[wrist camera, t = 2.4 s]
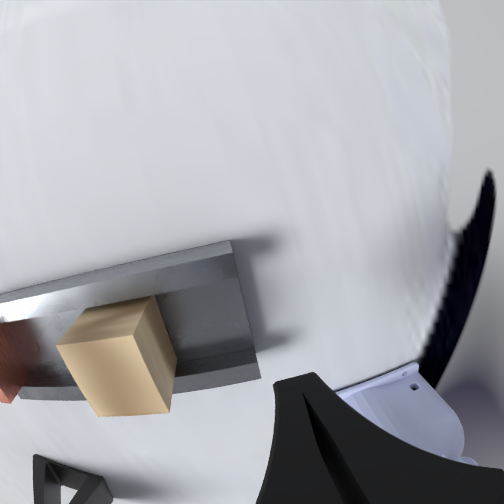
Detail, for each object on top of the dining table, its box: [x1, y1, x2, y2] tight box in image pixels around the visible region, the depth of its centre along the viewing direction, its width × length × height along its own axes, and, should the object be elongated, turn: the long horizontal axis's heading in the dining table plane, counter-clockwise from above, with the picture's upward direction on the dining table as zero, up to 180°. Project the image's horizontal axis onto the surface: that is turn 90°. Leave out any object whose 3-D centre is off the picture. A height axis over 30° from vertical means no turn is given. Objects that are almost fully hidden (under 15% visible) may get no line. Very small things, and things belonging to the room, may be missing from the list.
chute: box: [0, 240, 261, 404], centre depth 14 cm, size 18×7×4 cm, turn 100°
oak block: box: [56, 295, 177, 417], centre depth 13 cm, size 4×4×4 cm
